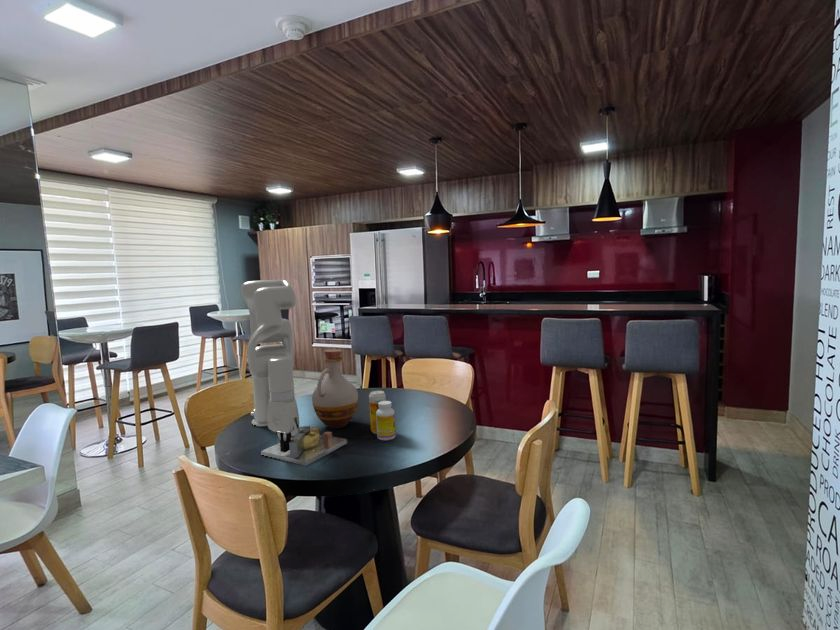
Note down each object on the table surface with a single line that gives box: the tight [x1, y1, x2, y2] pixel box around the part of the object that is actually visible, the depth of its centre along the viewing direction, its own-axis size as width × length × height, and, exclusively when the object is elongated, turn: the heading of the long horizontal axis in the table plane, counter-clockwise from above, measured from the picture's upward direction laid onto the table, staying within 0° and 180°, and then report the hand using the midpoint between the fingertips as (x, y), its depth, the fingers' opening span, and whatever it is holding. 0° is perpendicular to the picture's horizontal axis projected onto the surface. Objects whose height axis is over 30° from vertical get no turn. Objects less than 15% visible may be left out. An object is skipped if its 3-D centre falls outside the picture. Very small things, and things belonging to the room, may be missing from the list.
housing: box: [260, 431, 348, 467], centre depth 150 cm, size 20×20×6 cm
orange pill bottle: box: [368, 390, 387, 435], centre depth 163 cm, size 6×6×15 cm
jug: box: [311, 349, 359, 429], centre depth 171 cm, size 20×18×30 cm
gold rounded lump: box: [289, 425, 320, 458], centre depth 146 cm, size 16×10×6 cm, turn 178°
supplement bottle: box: [376, 400, 397, 441], centre depth 157 cm, size 7×7×13 cm
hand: (286, 450), depth 143 cm, fingers closed
